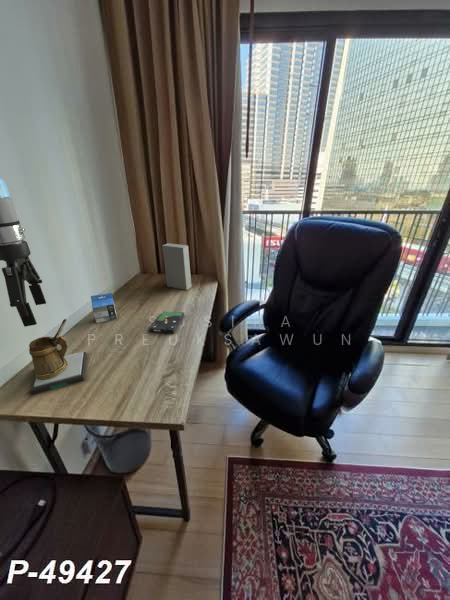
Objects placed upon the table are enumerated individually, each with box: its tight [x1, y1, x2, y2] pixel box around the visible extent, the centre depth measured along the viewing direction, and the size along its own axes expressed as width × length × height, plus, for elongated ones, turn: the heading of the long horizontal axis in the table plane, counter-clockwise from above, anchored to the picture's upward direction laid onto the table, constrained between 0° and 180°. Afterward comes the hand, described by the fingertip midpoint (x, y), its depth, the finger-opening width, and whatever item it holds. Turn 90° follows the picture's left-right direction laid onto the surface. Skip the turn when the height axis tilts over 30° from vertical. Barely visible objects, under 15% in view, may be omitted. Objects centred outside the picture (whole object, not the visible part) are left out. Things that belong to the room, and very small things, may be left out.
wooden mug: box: [28, 318, 68, 380], centre depth 78 cm, size 9×14×18 cm, turn 104°
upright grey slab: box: [161, 242, 193, 291], centre depth 143 cm, size 14×6×25 cm, turn 65°
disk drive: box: [150, 310, 185, 335], centre depth 110 cm, size 10×3×15 cm
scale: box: [30, 351, 88, 395], centre depth 83 cm, size 14×14×3 cm
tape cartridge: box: [90, 292, 118, 324], centre depth 113 cm, size 9×4×12 cm, turn 112°
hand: (36, 313), depth 74 cm, fingers open, 13 cm apart
